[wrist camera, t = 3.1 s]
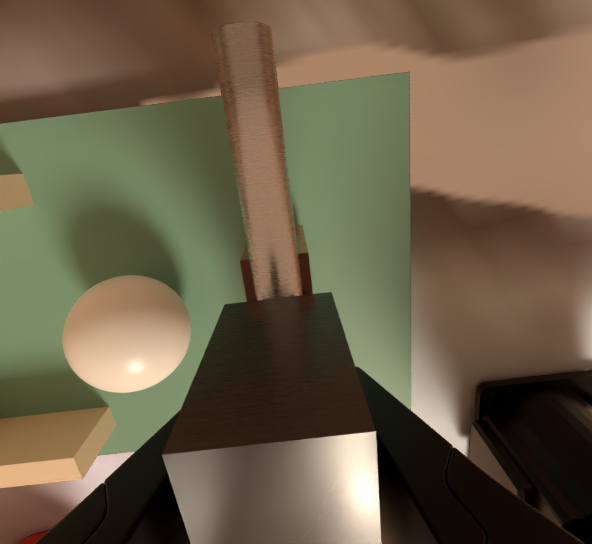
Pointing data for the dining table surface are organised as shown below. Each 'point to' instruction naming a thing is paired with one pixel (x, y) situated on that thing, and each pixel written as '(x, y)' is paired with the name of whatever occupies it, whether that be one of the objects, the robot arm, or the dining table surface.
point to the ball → (126, 333)
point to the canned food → (32, 538)
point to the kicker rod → (272, 360)
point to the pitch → (187, 249)
